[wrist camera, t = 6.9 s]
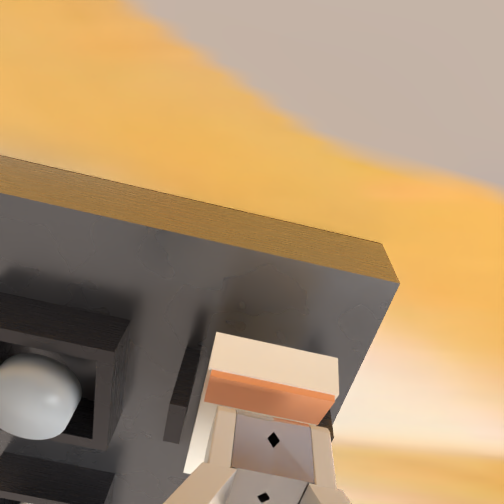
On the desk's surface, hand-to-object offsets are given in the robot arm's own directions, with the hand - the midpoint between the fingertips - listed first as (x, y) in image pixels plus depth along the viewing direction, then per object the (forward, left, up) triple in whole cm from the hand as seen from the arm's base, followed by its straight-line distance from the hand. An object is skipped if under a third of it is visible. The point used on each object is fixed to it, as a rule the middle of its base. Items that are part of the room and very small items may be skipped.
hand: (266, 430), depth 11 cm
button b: (-5, +8, -4) cm, 10 cm away
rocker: (-3, 0, -5) cm, 6 cm away
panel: (-9, +4, -8) cm, 12 cm away
